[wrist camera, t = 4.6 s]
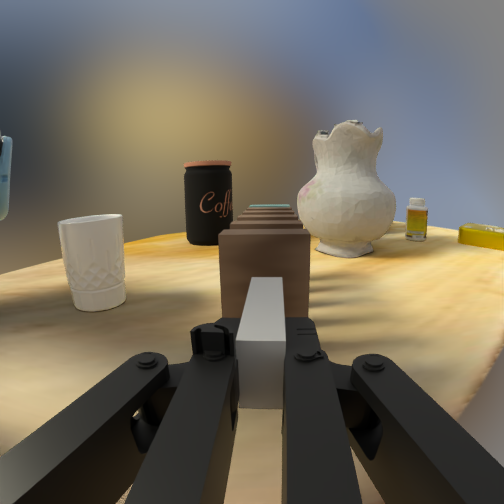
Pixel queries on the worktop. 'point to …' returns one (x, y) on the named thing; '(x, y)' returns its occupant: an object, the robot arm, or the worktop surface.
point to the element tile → (482, 236)
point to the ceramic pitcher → (346, 192)
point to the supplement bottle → (416, 220)
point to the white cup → (94, 260)
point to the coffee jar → (207, 200)
